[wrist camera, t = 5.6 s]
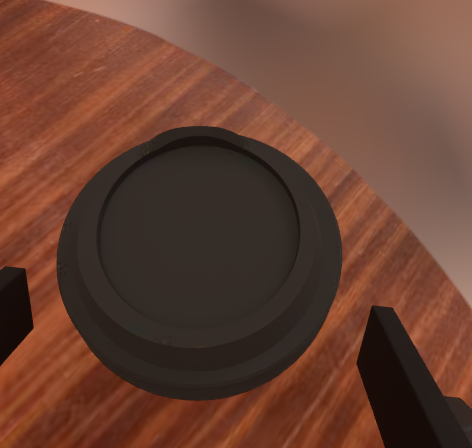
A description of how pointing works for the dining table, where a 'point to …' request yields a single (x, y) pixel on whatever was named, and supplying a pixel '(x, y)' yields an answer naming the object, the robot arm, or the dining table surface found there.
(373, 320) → the robot arm
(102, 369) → the dining table surface
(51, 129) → the dining table surface
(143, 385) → the coffee cup
